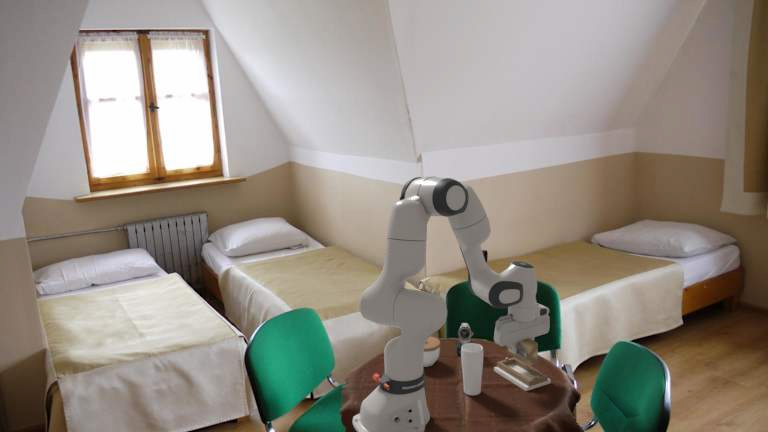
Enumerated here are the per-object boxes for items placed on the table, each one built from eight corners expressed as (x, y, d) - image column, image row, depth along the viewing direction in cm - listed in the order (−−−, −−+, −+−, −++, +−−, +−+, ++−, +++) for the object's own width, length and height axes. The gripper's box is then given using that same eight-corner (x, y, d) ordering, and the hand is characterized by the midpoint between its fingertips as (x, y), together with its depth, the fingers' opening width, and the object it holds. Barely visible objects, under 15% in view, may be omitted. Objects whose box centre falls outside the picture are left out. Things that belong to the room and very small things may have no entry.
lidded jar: (405, 358, 214) (404, 333, 212) (434, 354, 217) (433, 329, 215) (415, 372, 204) (414, 346, 202) (445, 367, 207) (444, 341, 205)
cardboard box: (528, 366, 192) (528, 345, 190) (506, 352, 201) (506, 333, 200) (537, 363, 193) (537, 342, 192) (514, 350, 203) (515, 330, 201)
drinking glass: (482, 398, 186) (482, 352, 182) (460, 396, 187) (460, 351, 184) (483, 387, 192) (483, 343, 189) (462, 386, 194) (461, 342, 190)
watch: (457, 358, 213) (457, 328, 211) (457, 348, 221) (456, 319, 219) (473, 358, 213) (473, 328, 210) (472, 348, 220) (472, 320, 218)
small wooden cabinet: (525, 391, 189) (526, 380, 188) (494, 370, 203) (494, 360, 202) (550, 383, 194) (550, 372, 193) (517, 363, 207) (517, 353, 207)
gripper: (502, 321, 186) (502, 363, 189) (553, 307, 195) (552, 347, 199) (489, 314, 192) (489, 355, 195) (539, 302, 201) (538, 340, 204)
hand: (521, 351), depth 197 cm, fingers closed on cardboard box, 4 cm apart
